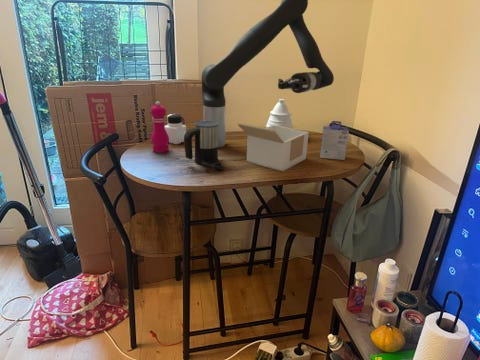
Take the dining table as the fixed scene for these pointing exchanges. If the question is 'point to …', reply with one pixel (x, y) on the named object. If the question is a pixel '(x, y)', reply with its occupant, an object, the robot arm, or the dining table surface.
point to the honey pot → (280, 115)
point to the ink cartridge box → (334, 141)
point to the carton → (278, 149)
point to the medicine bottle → (175, 129)
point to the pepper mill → (159, 129)
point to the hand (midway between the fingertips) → (280, 86)
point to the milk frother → (203, 143)
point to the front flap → (260, 132)
